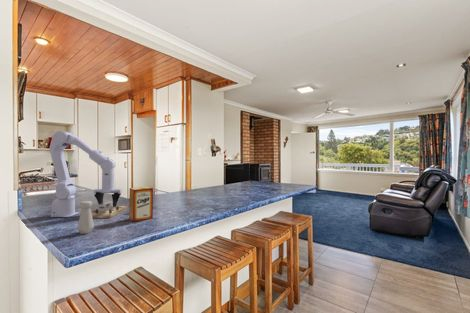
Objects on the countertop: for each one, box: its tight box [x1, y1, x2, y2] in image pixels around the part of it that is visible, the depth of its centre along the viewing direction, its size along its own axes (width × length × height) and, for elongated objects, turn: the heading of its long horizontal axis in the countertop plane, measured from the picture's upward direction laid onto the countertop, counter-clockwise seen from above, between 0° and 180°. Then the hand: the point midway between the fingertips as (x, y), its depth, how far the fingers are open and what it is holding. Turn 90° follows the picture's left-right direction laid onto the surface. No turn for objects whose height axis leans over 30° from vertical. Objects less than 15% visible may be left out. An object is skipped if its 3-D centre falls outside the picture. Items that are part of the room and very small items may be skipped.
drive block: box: [97, 200, 115, 214], centre depth 122 cm, size 4×9×5 cm, turn 179°
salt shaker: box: [77, 200, 95, 235], centre depth 93 cm, size 6×6×13 cm
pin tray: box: [91, 205, 128, 219], centre depth 122 cm, size 13×17×3 cm
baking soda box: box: [128, 186, 154, 223], centre depth 114 cm, size 10×6×16 cm
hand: (107, 206), depth 122 cm, fingers open, 7 cm apart
